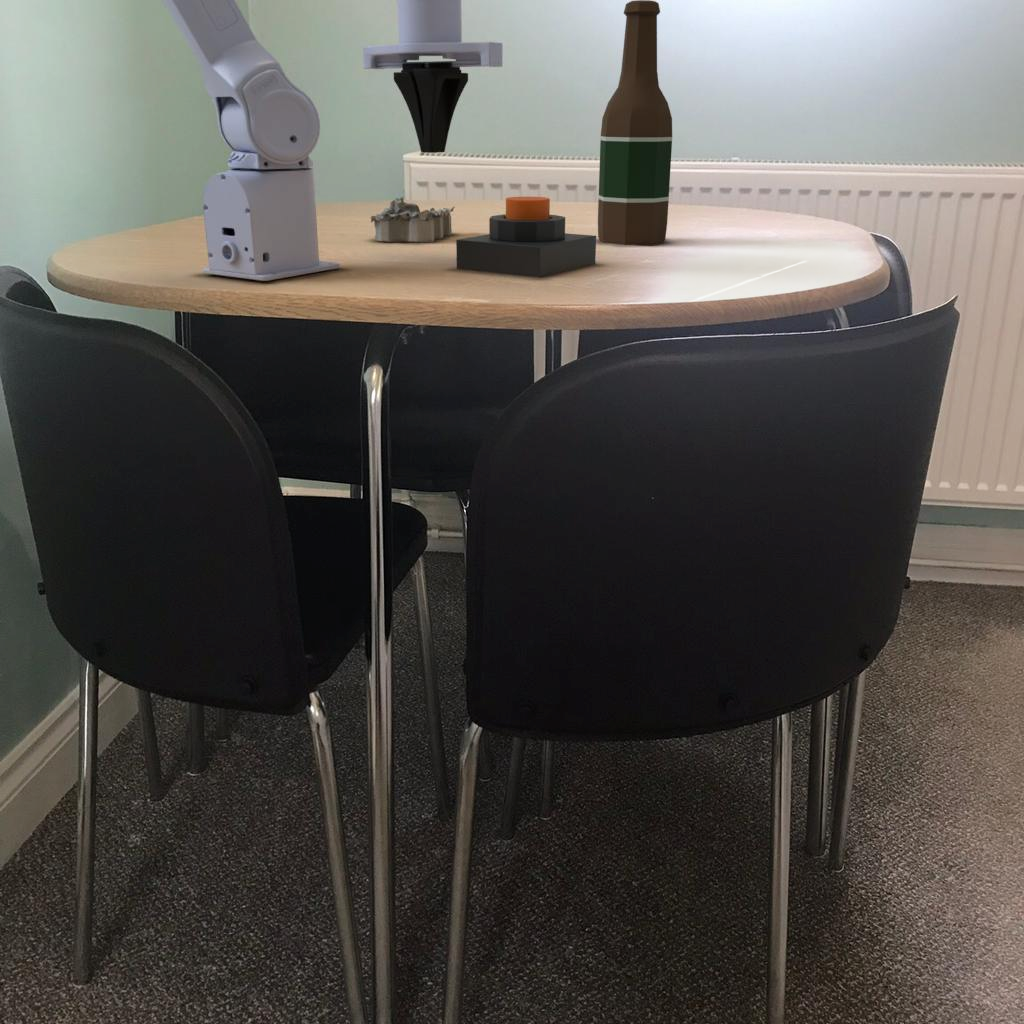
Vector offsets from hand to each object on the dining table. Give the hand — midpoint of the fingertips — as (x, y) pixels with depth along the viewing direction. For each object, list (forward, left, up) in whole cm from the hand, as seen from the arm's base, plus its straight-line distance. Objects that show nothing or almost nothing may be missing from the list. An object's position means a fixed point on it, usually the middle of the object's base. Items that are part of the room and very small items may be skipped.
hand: (432, 152), depth 95 cm
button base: (+1, -10, -10) cm, 14 cm away
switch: (+1, -10, -6) cm, 12 cm away
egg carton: (+13, +13, -10) cm, 21 cm away
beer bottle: (+24, -9, -10) cm, 28 cm away
